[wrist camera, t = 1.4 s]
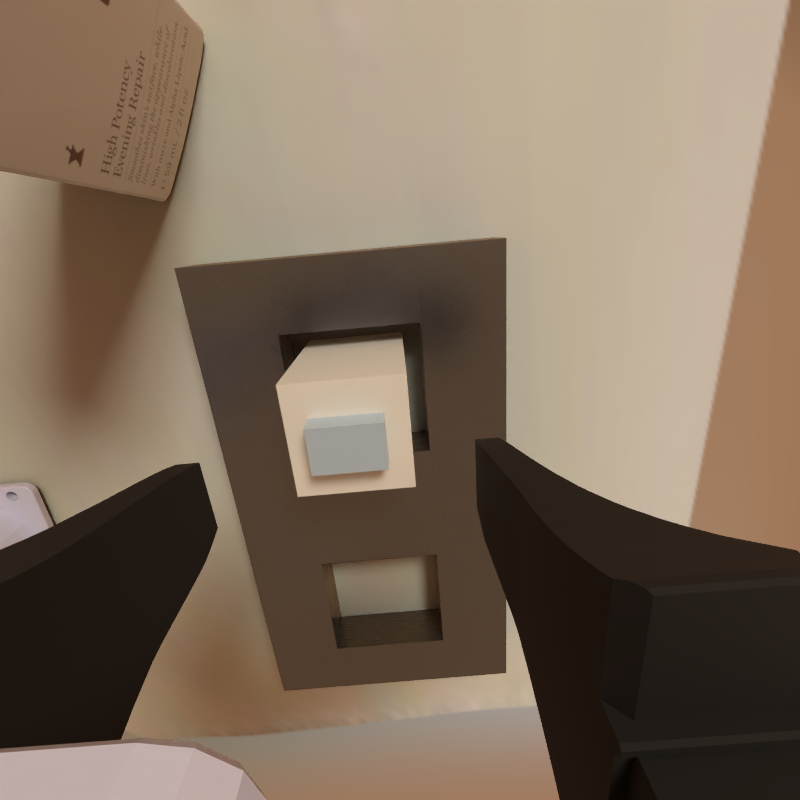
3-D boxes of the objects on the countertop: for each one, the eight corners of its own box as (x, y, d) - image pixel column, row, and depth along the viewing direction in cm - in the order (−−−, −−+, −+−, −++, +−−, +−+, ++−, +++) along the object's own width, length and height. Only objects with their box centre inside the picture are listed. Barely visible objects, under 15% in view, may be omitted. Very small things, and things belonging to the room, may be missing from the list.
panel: (291, 657, 26) (284, 690, 24) (197, 264, 18) (174, 268, 16) (497, 640, 25) (506, 672, 24) (494, 237, 18) (506, 237, 16)
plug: (323, 424, 20) (292, 511, 14) (309, 340, 19) (268, 394, 13) (409, 417, 20) (417, 500, 14) (401, 331, 19) (407, 381, 13)
